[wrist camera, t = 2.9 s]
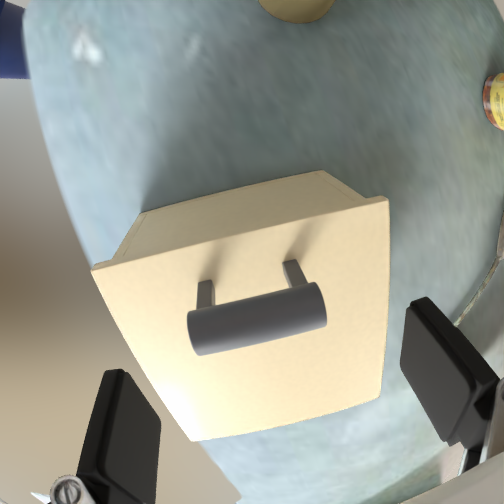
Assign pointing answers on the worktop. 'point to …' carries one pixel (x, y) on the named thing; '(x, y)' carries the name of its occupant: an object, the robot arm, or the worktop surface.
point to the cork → (297, 9)
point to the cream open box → (234, 210)
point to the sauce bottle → (494, 100)
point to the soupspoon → (502, 253)
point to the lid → (260, 318)
